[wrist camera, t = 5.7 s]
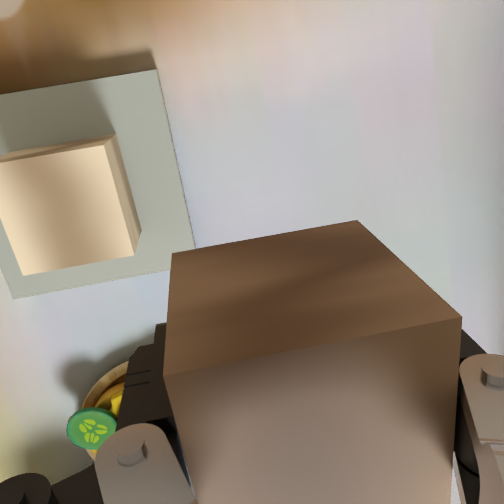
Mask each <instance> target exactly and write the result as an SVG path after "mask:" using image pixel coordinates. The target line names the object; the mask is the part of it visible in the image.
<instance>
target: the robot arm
mask: <svg viewBox="0 0 504 504" xmlns="http://www.w3.org/2000/svg"><path fill="white" fill-rule="evenodd" d="M166 326H167V322H166V323H161V324H157V325H156V329H155V338H154V344H151V345H145V346H140V347H138V349H137V350H136V351H135V353H134V354H133V355H132V357H131V358H130V359H129V361H128V367H127V372H126V377H125V382H124V389H123V393H122V398H121V404H120V409H119V414H118V420H117V425H116V430H115V433H114V434H112V435H111V436H110V437H109V438H107V439H106V440H105V441H104V443H103V444H102V445H101V446H100V448H99V450H98V452H97V454H96V457H95V463H94V464H92V465H91V466H89V467H88V468H86V469H85V470H83V471H81V472H79V473H77V474H75V475H73V476H71V477H68V478H66V479H64V480H62V481H60V482H58V483H56V484H54V485H52V486H51V485H50V483H49V481H48V479H47V478H46V477H44V476H43V475H40V474H37V473H25V474H21V475H17V476H14V477H11V478H9V479H7V480H5V481H3V482H2V483H0V504H198V502H197V500H196V498H195V497H196V496H195V493H194V489H193V485H192V481H191V478H190V474H189V470H188V467H187V463H186V459H185V456H184V452H183V448H182V444H181V441H180V437H179V433H178V430H177V426H176V422H175V419H174V415H173V411H172V407H171V404H170V400H169V396H168V393H167V389H166V385H165V382H164V378H163V368H164V354H165V340H166ZM453 468H454V473H455V477H456V482H457V487H458V491H459V496H460V501H461V504H504V356H501V355H496V354H487V353H486V352H485V351H484V350H483V349H482V348H481V347H480V346H479V345H478V344H477V343H476V342H475V341H474V340H473V339H472V338H471V337H470V336H469V335H468V334H467V333H465V332H464V331H463V330H462V329H461V343H460V358H459V374H458V389H457V405H456V420H455V436H454V455H453Z"/></svg>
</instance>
